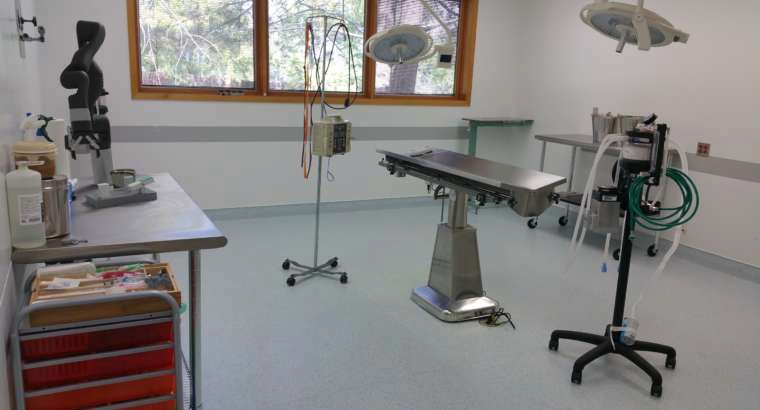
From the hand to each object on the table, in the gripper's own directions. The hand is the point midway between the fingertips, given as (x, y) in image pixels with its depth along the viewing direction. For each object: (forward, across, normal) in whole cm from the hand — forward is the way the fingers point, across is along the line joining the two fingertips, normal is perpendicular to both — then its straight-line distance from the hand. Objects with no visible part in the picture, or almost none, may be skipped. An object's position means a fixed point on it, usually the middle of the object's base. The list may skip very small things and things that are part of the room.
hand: (86, 158), depth 228 cm
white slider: (+16, -3, +11) cm, 20 cm away
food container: (+16, -17, -11) cm, 26 cm away
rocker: (+12, -18, +10) cm, 24 cm away
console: (+19, -10, +6) cm, 22 cm away
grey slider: (+15, -15, +1) cm, 21 cm away
